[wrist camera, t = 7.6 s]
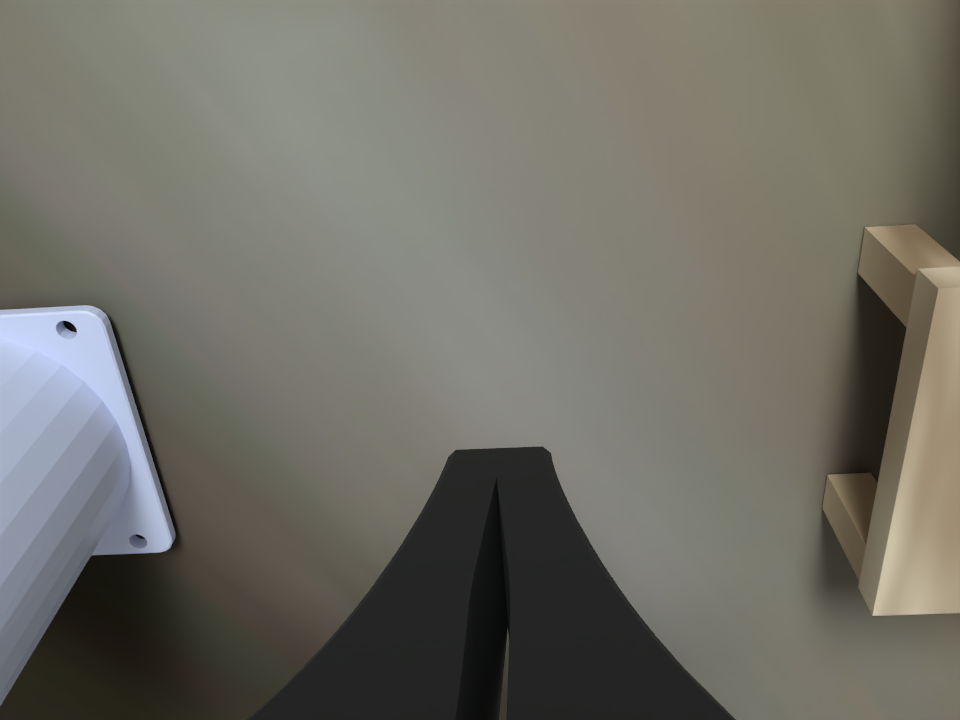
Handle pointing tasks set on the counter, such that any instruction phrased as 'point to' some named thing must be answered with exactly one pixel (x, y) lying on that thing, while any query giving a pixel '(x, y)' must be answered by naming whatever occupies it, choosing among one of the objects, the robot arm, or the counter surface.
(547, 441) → the counter surface
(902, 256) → the footstool
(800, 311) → the counter surface
